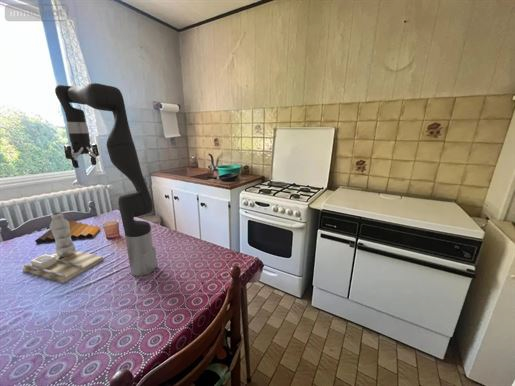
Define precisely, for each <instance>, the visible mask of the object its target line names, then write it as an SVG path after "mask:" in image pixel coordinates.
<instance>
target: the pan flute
mask: <svg viewBox="0 0 515 386" xmlns="http://www.w3.org/2000/svg"><path fill="white" fill-rule="evenodd" d="M66 220H67V219H66ZM67 221H68V222H69V226H70V236H71V239H72V241H75V240H81V239H82V240H83V239H93V238H94V237H95V236H96V235H97V234H98V232H99V231H100V229H101V227H100V226H99V225H93V224H88V223H83V222H81V221H79V222H78V221H75V220H74V221H72V220H69V219H68V220H67ZM34 241H35V243H36V244H44V243H46V244H47V243H52V242H54V243H56V242H55V238H54V235H53V233H52V231H51V229H50V228H49V230H47V231H46V232H45V233H43V234H42V235H41V236H39V237H38V238H37V239H35V240H34Z"/></svg>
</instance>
